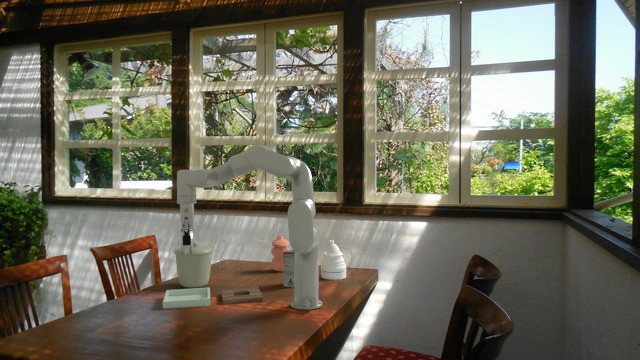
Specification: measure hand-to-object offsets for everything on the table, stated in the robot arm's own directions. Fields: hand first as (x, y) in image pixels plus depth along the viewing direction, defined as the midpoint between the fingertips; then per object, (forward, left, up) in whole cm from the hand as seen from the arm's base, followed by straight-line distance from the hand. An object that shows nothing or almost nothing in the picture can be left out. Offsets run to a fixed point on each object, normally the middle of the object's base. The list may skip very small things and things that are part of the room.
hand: (187, 243), depth 188 cm
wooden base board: (0, -22, -24) cm, 33 cm away
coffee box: (+16, -48, -24) cm, 56 cm away
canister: (+27, -2, -24) cm, 36 cm away
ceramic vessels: (+37, -51, -24) cm, 67 cm away
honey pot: (+28, -70, -24) cm, 79 cm away
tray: (0, 0, -24) cm, 24 cm away
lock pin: (0, 0, -4) cm, 4 cm away
